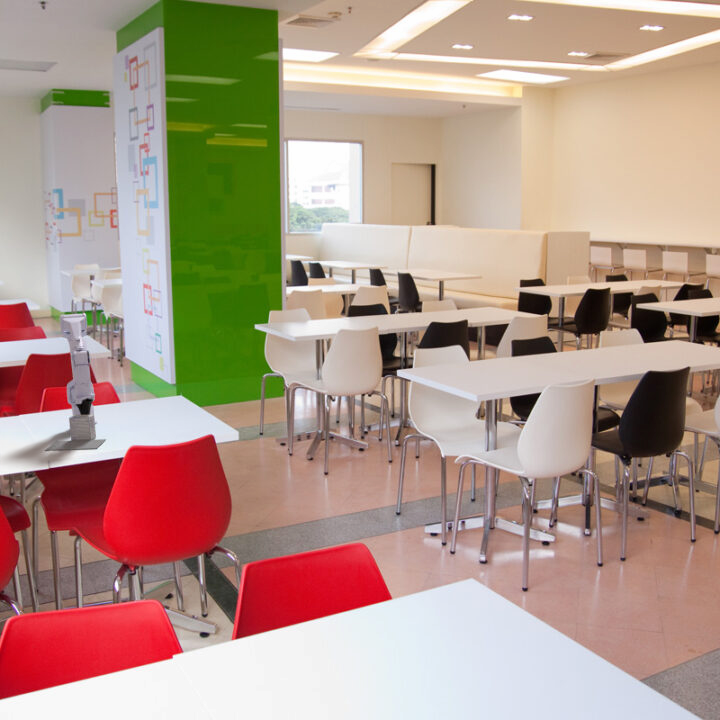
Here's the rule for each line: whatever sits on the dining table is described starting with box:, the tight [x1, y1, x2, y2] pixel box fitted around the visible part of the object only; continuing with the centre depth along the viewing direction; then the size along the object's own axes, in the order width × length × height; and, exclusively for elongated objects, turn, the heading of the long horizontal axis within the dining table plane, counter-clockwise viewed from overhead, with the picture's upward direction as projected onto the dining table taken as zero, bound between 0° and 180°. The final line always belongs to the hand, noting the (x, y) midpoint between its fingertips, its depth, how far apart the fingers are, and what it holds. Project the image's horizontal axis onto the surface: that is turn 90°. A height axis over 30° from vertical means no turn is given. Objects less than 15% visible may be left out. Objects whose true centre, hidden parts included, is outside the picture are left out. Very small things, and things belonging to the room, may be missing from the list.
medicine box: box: [68, 414, 97, 440], centre depth 305 cm, size 8×4×9 cm, turn 84°
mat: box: [44, 438, 107, 452], centre depth 297 cm, size 12×18×1 cm, turn 92°
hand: (85, 418), depth 309 cm, fingers closed
